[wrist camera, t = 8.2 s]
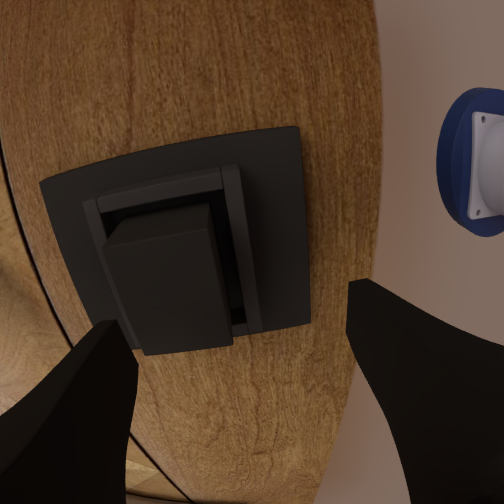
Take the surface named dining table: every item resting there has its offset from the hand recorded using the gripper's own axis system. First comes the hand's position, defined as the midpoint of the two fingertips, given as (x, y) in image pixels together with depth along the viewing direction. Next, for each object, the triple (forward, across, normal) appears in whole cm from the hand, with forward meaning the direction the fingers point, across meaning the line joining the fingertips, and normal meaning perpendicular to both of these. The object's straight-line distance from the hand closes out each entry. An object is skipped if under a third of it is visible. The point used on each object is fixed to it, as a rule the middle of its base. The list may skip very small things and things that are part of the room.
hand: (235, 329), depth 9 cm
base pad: (+9, +3, +1) cm, 9 cm away
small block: (+8, +3, +1) cm, 8 cm away
